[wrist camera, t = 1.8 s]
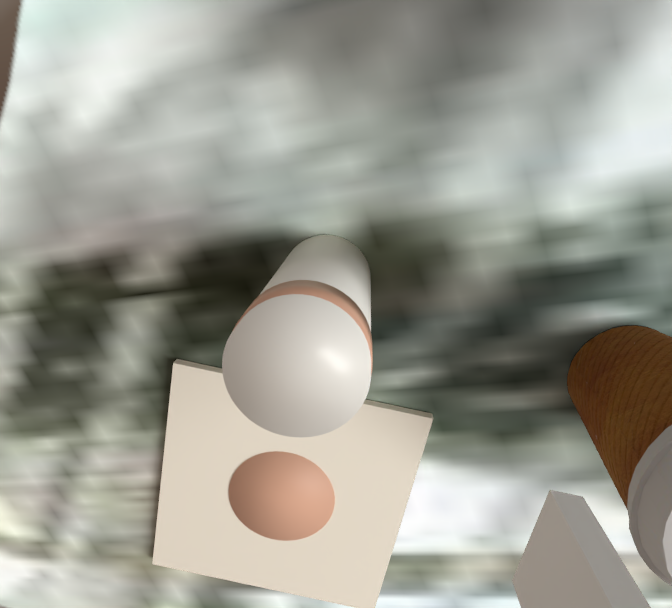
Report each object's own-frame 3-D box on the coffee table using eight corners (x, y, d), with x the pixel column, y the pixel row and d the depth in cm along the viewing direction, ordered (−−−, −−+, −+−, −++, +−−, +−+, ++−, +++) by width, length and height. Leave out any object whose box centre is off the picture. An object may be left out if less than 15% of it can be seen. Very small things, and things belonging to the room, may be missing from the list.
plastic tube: (290, 225, 27) (231, 284, 15) (380, 244, 27) (388, 318, 15) (275, 310, 28) (212, 421, 17) (360, 328, 28) (354, 452, 17)
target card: (176, 358, 30) (172, 363, 29) (432, 413, 30) (433, 419, 29) (155, 557, 35) (151, 564, 34) (373, 603, 35) (373, 612, 34)
